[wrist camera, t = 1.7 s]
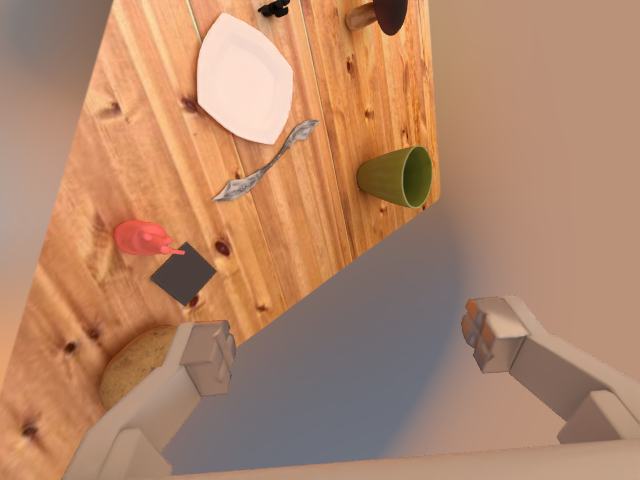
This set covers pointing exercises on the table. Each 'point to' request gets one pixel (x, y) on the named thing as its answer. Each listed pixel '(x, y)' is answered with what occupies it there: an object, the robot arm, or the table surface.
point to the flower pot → (398, 176)
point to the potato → (134, 364)
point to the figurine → (143, 238)
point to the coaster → (184, 274)
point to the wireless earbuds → (275, 8)
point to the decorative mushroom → (379, 15)
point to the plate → (244, 81)
